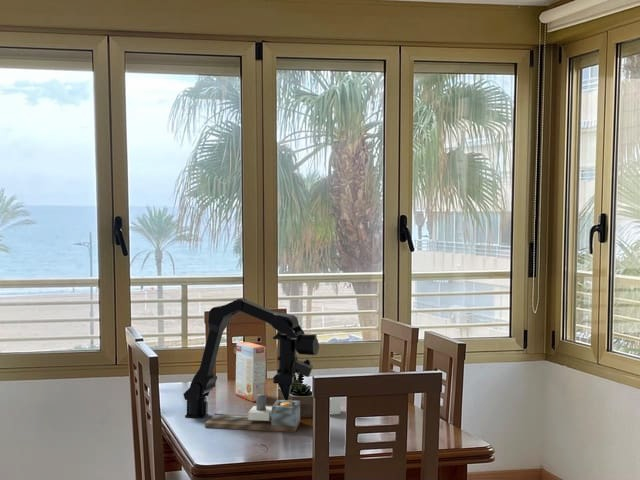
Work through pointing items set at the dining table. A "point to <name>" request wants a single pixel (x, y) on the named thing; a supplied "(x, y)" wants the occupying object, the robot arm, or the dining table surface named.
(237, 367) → the cracker box
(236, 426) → the rail board
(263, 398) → the carriage
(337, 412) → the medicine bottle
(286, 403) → the button
